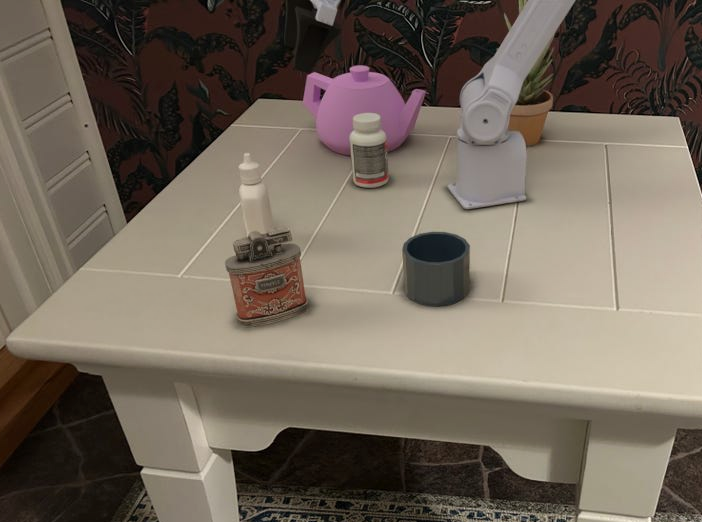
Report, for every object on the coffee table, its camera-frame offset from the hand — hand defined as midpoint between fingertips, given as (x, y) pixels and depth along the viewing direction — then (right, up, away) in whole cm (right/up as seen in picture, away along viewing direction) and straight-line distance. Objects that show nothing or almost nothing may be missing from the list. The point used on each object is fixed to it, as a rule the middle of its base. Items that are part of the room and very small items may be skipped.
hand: (296, 58), depth 94 cm
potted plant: (+32, -2, +29) cm, 43 cm away
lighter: (0, -34, -12) cm, 36 cm away
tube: (+18, -31, -8) cm, 36 cm away
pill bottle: (+8, -12, +16) cm, 22 cm away
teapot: (+6, -2, +29) cm, 29 cm away
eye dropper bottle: (-5, -24, +1) cm, 24 cm away
